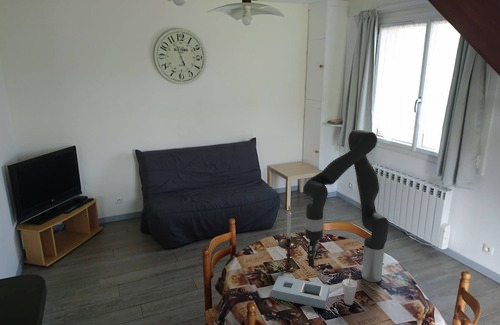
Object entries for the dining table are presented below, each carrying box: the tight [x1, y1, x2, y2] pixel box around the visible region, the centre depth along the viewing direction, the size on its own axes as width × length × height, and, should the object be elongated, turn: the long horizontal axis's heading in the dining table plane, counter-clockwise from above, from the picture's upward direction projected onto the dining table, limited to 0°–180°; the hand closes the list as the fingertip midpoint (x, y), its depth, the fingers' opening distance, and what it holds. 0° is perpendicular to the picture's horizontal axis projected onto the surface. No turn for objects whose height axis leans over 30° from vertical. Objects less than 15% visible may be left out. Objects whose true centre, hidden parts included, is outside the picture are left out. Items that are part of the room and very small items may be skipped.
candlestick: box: [277, 205, 300, 273], centre depth 175 cm, size 11×11×35 cm
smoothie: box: [341, 272, 358, 306], centre depth 149 cm, size 6×6×14 cm
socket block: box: [271, 275, 331, 310], centre depth 156 cm, size 12×24×4 cm, turn 70°
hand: (312, 261), depth 150 cm, fingers open, 8 cm apart
